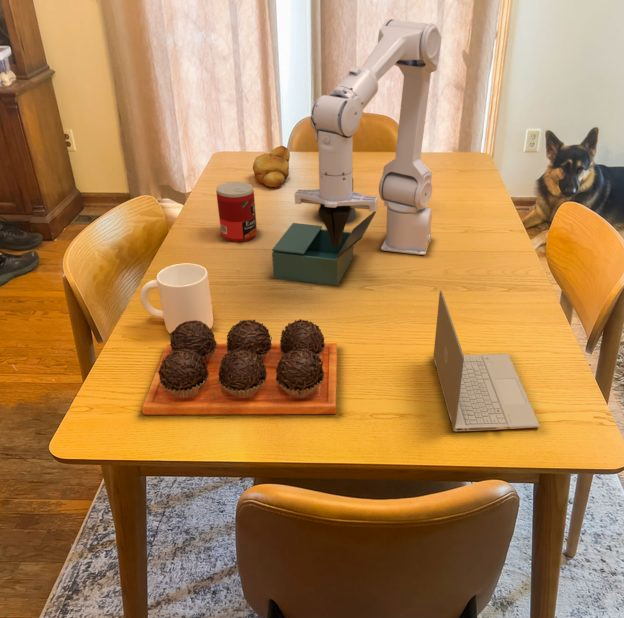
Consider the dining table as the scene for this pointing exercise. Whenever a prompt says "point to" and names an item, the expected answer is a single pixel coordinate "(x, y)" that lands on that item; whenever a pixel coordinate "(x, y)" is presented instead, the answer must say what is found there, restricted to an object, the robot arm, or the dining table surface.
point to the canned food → (236, 211)
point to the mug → (180, 295)
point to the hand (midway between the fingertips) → (336, 243)
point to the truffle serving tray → (245, 372)
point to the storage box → (310, 256)
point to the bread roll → (272, 167)
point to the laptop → (478, 384)
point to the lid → (356, 234)
